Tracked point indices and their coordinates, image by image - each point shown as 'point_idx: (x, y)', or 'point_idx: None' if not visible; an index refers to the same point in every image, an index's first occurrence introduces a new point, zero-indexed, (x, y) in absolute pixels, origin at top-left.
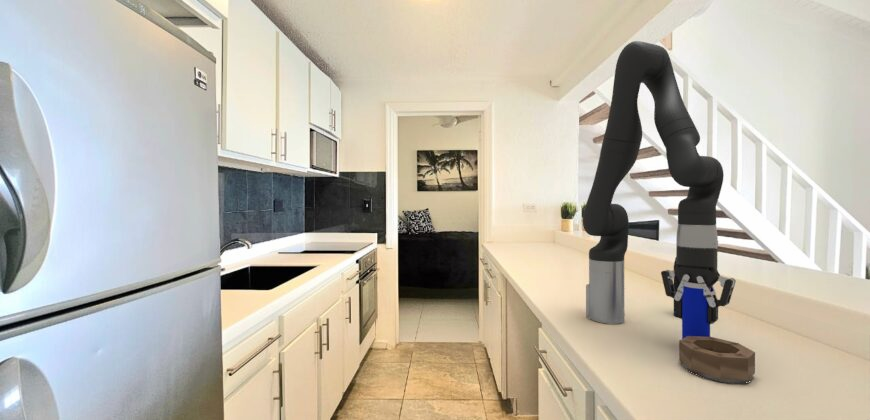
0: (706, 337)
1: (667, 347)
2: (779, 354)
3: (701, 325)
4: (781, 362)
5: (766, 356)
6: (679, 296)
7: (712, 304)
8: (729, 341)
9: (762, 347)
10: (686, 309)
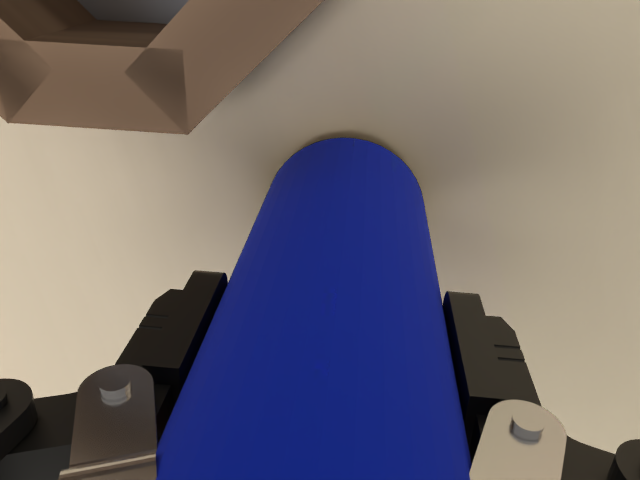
0: (204, 87)
1: (495, 113)
2: None
3: (266, 225)
4: (12, 317)
5: (81, 353)
6: (502, 445)
7: (108, 381)
8: (61, 119)
9: None
10: (389, 292)
